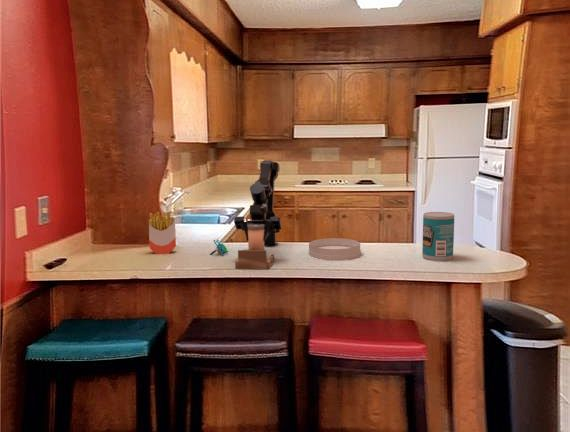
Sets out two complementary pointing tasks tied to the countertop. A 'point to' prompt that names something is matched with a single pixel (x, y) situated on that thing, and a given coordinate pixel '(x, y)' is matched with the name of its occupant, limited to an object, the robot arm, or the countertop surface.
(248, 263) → the brown wooden frame
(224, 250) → the stick construction toy
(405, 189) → the countertop surface
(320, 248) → the dish
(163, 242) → the french fries container
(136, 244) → the countertop surface
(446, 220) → the food can
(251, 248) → the jar
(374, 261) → the countertop surface
